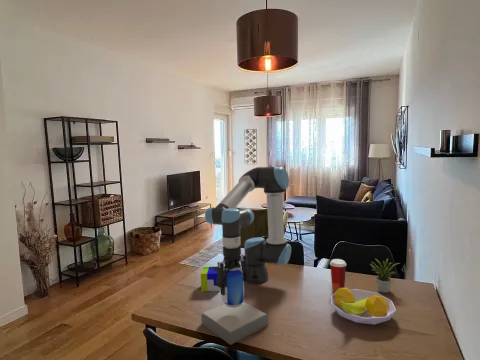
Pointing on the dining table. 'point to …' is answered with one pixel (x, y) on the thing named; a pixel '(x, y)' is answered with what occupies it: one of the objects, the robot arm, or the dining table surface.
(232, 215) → the robot arm
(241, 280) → the beer can
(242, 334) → the plinth
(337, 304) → the fruit bowl
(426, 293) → the dining table surface
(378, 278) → the house plant
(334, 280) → the coffee cup
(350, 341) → the dining table surface
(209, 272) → the puzzle toy
